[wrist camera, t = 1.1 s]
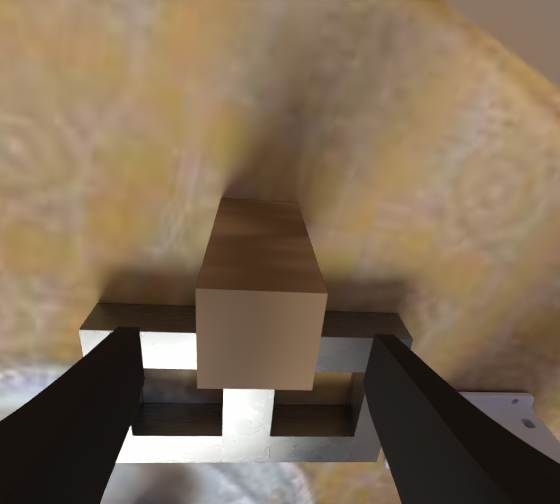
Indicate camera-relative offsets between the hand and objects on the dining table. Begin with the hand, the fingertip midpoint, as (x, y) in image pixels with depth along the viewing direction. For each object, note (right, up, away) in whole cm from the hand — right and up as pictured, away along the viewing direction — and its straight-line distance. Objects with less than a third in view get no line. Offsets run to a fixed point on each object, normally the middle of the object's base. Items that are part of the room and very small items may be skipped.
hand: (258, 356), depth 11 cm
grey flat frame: (-1, -5, +13) cm, 14 cm away
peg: (-1, +4, +9) cm, 10 cm away
